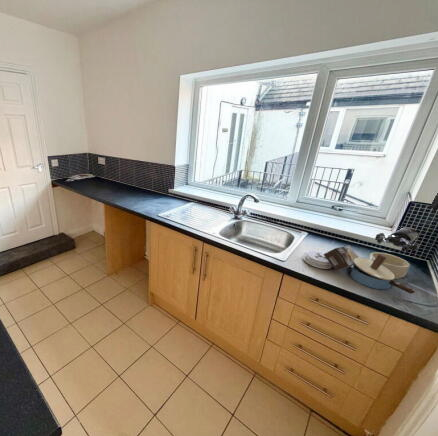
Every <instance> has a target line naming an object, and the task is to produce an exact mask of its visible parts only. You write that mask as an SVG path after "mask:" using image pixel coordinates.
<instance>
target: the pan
mask: <svg viewBox="0 0 438 436" xmlns="http://www.w3.org/2000/svg"><path fill="white" fill-rule="evenodd" d="M350 277H351V278H352V280H353V281H355V282H357V283H359V284H361V285H363V286H366V287H368V288H372V289H376V290H388V289H390V288H391V286H393V287H395V288H397V289H400V290H402V291H404V292H406V293H409V294H414V293H415V289H414V288H412V287H409V286H407V285H405V284H402V283H400V282H398V281H395V280H394V279H393V280H384V279H380V278H377V277H374V276H372V275H370V274H368V273H366V272H364V271H363V270H361V269H360V268H358V267H357V266H356V265H353V266H352V268H351V272H350Z"/></svg>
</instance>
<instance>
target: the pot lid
mask: <svg viewBox="0 0 438 436" xmlns="http://www.w3.org/2000/svg"><path fill="white" fill-rule="evenodd" d="M381 253H382V252H380V253H379V254H378V256H377V257H376V258H375V260H374V261H371V260H369V258H364V257H359V258H355V259H354V260H353V262H354V264H355V265H356V266H357V267H358V268H360V269H361V270H363V271H364V272H366V273H368V274H370V275H372V276H374V277H377V278H380V279H384V280H393V281H394V280H395V279H394V278H395V276H394V274H393V273H392V272H391V271H390V270H389V269H387V268H386V267H384V266H382V265H381V264H382V263H383V262H384V260H385V259H386V258H387V256H386V255H384V254H381Z"/></svg>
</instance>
